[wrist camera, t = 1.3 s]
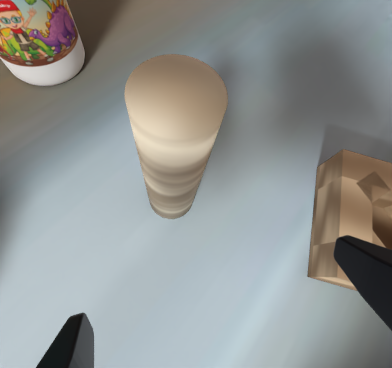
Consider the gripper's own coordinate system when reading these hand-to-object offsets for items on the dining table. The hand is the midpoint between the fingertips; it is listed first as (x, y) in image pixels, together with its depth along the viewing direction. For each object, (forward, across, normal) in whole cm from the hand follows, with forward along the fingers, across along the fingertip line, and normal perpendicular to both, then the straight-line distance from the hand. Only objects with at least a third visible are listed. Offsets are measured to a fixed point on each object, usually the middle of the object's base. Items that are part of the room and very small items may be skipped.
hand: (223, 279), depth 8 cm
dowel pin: (+14, 0, +4) cm, 15 cm away
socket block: (+9, -18, +10) cm, 22 cm away
